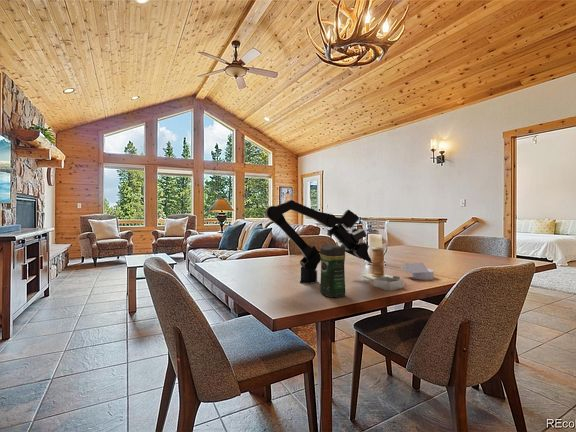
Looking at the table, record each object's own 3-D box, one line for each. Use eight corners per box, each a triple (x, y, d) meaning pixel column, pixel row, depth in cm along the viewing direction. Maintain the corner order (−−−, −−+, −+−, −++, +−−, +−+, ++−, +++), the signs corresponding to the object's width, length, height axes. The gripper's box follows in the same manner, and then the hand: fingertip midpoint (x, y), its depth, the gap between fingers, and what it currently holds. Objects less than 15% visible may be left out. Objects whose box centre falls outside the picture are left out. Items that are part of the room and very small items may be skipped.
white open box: (389, 290, 115) (389, 281, 115) (373, 286, 122) (373, 277, 122) (406, 287, 120) (406, 278, 120) (389, 282, 127) (389, 274, 127)
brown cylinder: (375, 277, 134) (375, 249, 133) (369, 275, 139) (369, 247, 139) (386, 277, 135) (387, 248, 135) (380, 274, 140) (380, 246, 140)
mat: (375, 281, 130) (375, 279, 130) (361, 275, 140) (361, 274, 140) (396, 279, 134) (396, 277, 134) (380, 273, 144) (380, 272, 144)
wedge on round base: (411, 280, 131) (438, 279, 133) (411, 265, 131) (438, 264, 133) (400, 275, 140) (425, 274, 142) (400, 261, 140) (425, 260, 142)
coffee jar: (349, 296, 108) (349, 245, 108) (330, 299, 105) (330, 247, 104) (334, 289, 117) (334, 242, 116) (317, 292, 114) (316, 243, 113)
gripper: (364, 224, 125) (388, 249, 127) (347, 222, 143) (368, 244, 146) (346, 243, 123) (371, 268, 126) (331, 238, 142) (352, 261, 144)
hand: (365, 259), depth 135 cm, fingers open, 9 cm apart
